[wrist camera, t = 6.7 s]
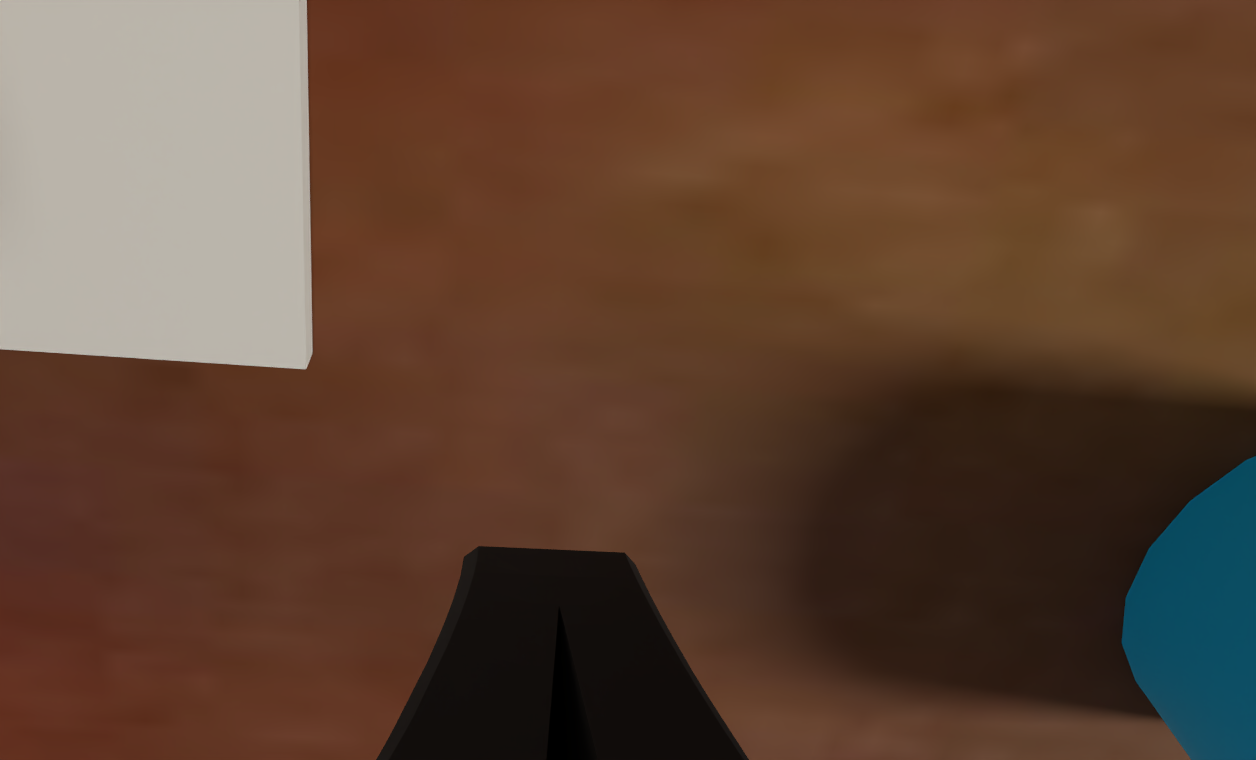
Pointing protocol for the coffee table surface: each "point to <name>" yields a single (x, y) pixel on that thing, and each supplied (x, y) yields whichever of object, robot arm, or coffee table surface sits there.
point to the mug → (1201, 621)
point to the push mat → (156, 180)
